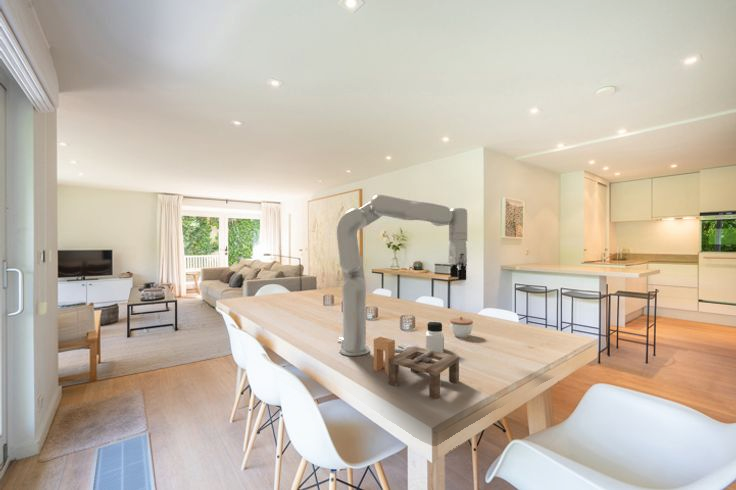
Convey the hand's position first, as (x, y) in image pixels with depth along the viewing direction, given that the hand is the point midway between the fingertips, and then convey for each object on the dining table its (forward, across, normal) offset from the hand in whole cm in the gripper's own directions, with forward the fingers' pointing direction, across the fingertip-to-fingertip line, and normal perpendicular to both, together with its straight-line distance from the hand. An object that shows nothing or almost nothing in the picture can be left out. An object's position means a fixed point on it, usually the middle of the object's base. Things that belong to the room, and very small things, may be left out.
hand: (458, 278), depth 136 cm
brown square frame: (+31, +30, -22) cm, 48 cm away
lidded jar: (+31, -22, +9) cm, 39 cm away
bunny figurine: (+31, +8, -21) cm, 38 cm away
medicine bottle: (+31, -1, -10) cm, 32 cm away
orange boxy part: (+31, +19, -34) cm, 49 cm away
